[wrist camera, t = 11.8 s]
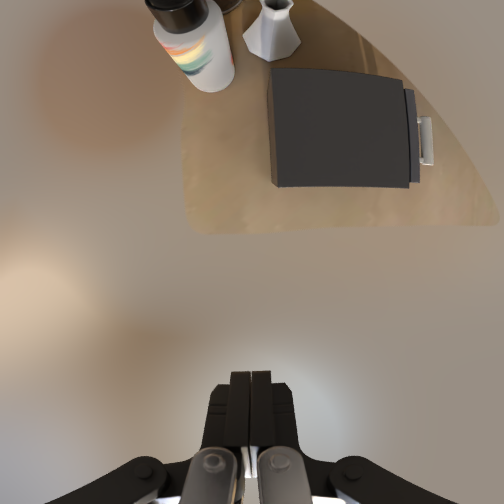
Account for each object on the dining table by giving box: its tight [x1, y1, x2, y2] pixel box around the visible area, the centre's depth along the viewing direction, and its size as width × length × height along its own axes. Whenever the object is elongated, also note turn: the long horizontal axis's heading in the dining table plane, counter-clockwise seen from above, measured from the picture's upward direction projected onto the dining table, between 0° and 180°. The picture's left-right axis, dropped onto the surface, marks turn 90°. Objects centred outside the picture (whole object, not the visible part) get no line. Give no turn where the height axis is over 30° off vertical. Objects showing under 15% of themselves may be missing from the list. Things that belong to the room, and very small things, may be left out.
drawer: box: [403, 89, 434, 183], centre depth 27 cm, size 17×10×8 cm, turn 93°
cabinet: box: [267, 68, 409, 189], centre depth 28 cm, size 14×12×10 cm
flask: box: [242, 0, 301, 62], centre depth 24 cm, size 7×7×10 cm
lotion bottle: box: [145, 0, 235, 92], centre depth 20 cm, size 6×6×20 cm
